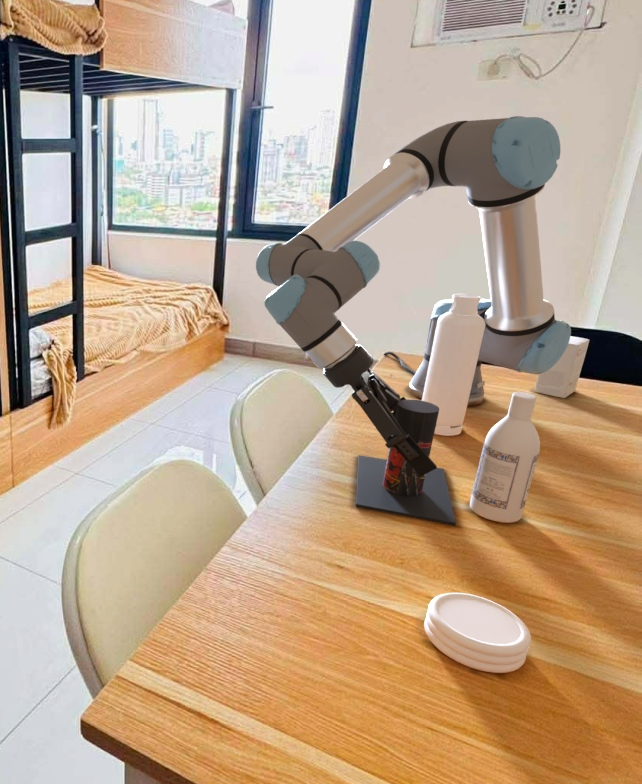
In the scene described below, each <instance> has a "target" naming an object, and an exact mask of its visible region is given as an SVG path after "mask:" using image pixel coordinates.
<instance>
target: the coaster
mask: <svg viewBox="0 0 642 784" xmlns="http://www.w3.org/2000/svg"><path fill="white" fill-rule="evenodd" d="M423 627H424V632H425V635H426V636H427V638H428V639H429V641H430V642H431V644H433V646H434V647H436V648H437V649H438V650H439V651H440V652H441V653H443V654H444V655H445V656H447V657H449V658H450V659H451V660H453V661H455V662H457V663H459V664H461V665H462V666H465V667H468V668H471V669H473V670H477V671H482V672H487V673H493V674H506V673H512V672H515V671H517V670H519V669H520V668H521V667H522V666H523V665H524V664H525V663H526V661H527V655H528V653H529V649H530V646H531V643H532V635H531V632H530V630H529V628H528V626H527V625H526V623H524V621H523V620H522V619H521V618H519V616H517V615H516V614H515V613H514V612H513V611H511V610H510V609H508V608H506V607H505V606H503V605H501V604H499V603H497V602H494V601H493V600H491V599H488V598H485V597H482V596H479V595H475V594H472V593H471V594H470V593H465V592H447V593H441V594H439V595H437V596H434V597H433V598H432V599H431V600H430V602H428V606H427V611H426V614H425V618H424V622H423Z"/></svg>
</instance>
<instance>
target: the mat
mask: <svg viewBox="0 0 642 784" xmlns="http://www.w3.org/2000/svg"><path fill="white" fill-rule="evenodd" d="M386 463H387V459H385V458H378V457H372V456H366V455H359V454H358V456H357V475H356V477H357V478H356V495H355V507H356V508H360V509H366V510H371V511H375V512H380V513H387V514H392V515H397V516H402V517H407V518H414V519H418V520H424V521H429V522H434V523H440V524H445V525H450V526H454V527H455V526H457V522H456V521H457V520H456V516H455V512H454V509H453V504H452V500H451V497H450V496H451V495H450V491H449V486H448V482H447V478H446V473H445V469H444V468H441V467H437V468H436V469H434V470H432V471H430V472H429V473H427V474H425V479H424V484H423V489H422V493H421V494H420V495H418V496H413V497H408V496H401V495H397V494H394V493H392V492H389V491H388V490H386V489H385V488H384V487H383V479H384V474H385V469H386Z"/></svg>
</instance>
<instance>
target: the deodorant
mask: <svg viewBox="0 0 642 784" xmlns="http://www.w3.org/2000/svg"><path fill="white" fill-rule="evenodd" d="M438 413H439V407H437V406H436V405H434V404H432V403H429V402H425V401H422V400H421V399H420V400H419V399H406V400H401V401H399V402H398V405H397V410H396V415H395V418H396V420H397V421H398V423H399V424H400V426H401V427H402V429H403V431H404V432H405V433H406V434H407V435H408V434H409V435H410V436H411V438H412V439H413V440H414V441H415V442H416V443H417V444H418V445H419V447H420V448H421V449H422V450H423V451H424V452H425V453H426V454H427V456H428V457H429V458H430V455H431V451H432V446H433V441H434V436H435V434H434V432H435V427H436V426H437V425H436V423H437V418H438ZM394 435H396V434H393V435H392V437H393V436H394ZM386 460H387V463H386V469H385V474H384V479H383V487H384V488H385V489H386V490H388V491H389V492H392V493H394V494H397V495H401V496H408V497H413V496H418V495H420V494H421V493H422V489H423V484H424V479H425V475H423V476H420V475H419V474H418V473H417V472H416V471H415V470H414V468H413V467H412V466H411V465H410V464H409V463H408V462H407V461H406V459H405V458H404V457H403V456H402V455H401V454H400V453H399V451H398V450H397V449H396V448H395V447H394V446H392V447H390V448H388V454H387V459H386Z"/></svg>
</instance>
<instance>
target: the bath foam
mask: <svg viewBox="0 0 642 784" xmlns="http://www.w3.org/2000/svg"><path fill="white" fill-rule="evenodd" d="M536 401H537V396H536V395H534V394H532V393H530V392H525V391H514V392H513V393H512V395H511V399H510V404H509V406H508V411H507V414H506V415H505V416H504V417H503V418H502V419H501V420H499V421H498V422H497V423H496V424H494V425H493V426H491V428H490V430H489V431H488V432H487V434H486V436H485V439H484V441H483V445H482V450H481V454H480V459H479V463H478V467H477V471H476V475H475V478H474V483H473V487H472V492H471V495H470V501H469V508H470V510H471V511H473V512H474V513H475V514H476V515H478V516H480V517H481V518H484V519H487V520H490V521H492V522H496V523H505V524H506V523H507V524H511V523H516V522H518V521H520V520H521V519H522V516H523V513H524V510H525V506H526V503H527V499H528V496H529V493H530V488H531V486H532V481H533V477H534V474H535V471H536V468H537V463H538V460H539V456H540V450H541V439H540V436H539V433H538V430H537V429H536V426H535V425H534V423H533V421H532V416H533V414H534V410H535V406H536Z"/></svg>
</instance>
